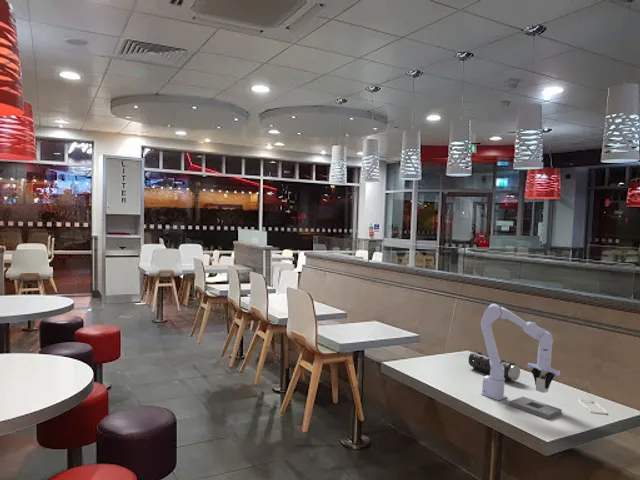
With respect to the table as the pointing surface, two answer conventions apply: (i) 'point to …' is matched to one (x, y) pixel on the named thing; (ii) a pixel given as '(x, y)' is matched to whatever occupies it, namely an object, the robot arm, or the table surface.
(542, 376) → the charger plug
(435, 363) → the table surface
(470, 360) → the muzzle brake
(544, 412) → the charging plate
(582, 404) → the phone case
